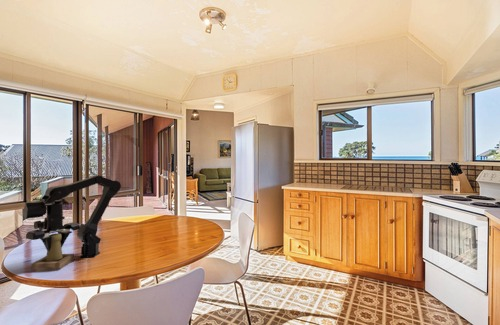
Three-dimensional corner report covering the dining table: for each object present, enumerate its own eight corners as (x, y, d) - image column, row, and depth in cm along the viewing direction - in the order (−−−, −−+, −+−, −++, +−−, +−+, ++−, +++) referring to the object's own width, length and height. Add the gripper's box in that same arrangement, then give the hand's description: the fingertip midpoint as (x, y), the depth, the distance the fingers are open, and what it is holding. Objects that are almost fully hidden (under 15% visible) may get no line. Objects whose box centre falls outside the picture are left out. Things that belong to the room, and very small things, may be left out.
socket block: (74, 259, 116) (74, 253, 116) (59, 269, 105) (59, 262, 105) (48, 260, 115) (48, 254, 115) (31, 271, 104) (31, 264, 104)
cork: (60, 255, 114) (61, 231, 114) (64, 258, 111) (64, 233, 111) (44, 258, 110) (44, 234, 110) (47, 262, 106) (47, 236, 106)
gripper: (65, 209, 122) (65, 241, 122) (18, 217, 105) (18, 254, 105) (80, 211, 118) (80, 244, 118) (34, 219, 100) (33, 258, 100)
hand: (54, 249), depth 110 cm, fingers closed on cork, 4 cm apart
